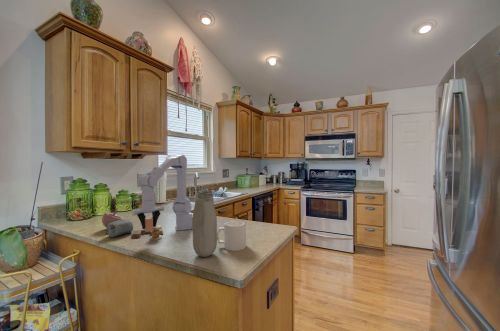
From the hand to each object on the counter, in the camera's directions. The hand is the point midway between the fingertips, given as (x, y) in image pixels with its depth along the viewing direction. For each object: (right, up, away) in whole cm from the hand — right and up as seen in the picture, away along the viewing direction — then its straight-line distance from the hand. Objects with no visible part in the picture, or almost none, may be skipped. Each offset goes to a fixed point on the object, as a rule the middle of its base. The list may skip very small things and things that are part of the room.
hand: (149, 227), depth 115 cm
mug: (+41, -8, -4) cm, 42 cm away
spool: (-23, -8, +16) cm, 29 cm away
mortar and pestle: (-33, -8, +28) cm, 44 cm away
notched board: (-7, -8, +15) cm, 19 cm away
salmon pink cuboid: (0, -1, 0) cm, 1 cm away
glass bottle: (+30, -8, -14) cm, 34 cm away
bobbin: (0, -8, +9) cm, 12 cm away
